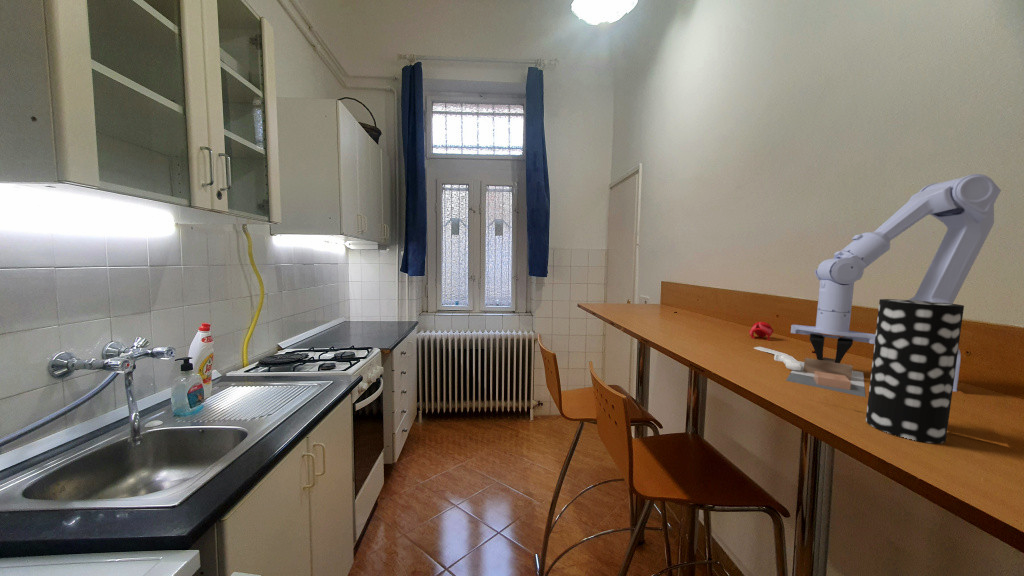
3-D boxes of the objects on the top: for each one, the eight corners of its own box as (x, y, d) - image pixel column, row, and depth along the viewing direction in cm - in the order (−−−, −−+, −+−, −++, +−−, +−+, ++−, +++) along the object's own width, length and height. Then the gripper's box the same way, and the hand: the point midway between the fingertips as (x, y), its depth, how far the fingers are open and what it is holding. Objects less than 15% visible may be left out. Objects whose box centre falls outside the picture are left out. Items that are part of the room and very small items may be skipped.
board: (862, 374, 82) (863, 372, 82) (865, 399, 67) (865, 396, 67) (797, 362, 91) (797, 360, 91) (785, 382, 75) (786, 380, 75)
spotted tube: (938, 429, 55) (955, 303, 53) (952, 450, 49) (972, 307, 47) (863, 413, 60) (876, 298, 59) (867, 429, 54) (882, 301, 52)
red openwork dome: (775, 332, 114) (778, 321, 117) (754, 324, 116) (758, 314, 120) (764, 348, 119) (767, 337, 122) (745, 340, 122) (748, 329, 125)
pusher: (851, 374, 80) (852, 361, 80) (851, 380, 76) (852, 367, 76) (805, 366, 86) (807, 354, 85) (803, 371, 81) (804, 359, 81)
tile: (844, 382, 74) (845, 375, 74) (850, 389, 70) (850, 382, 70) (813, 377, 77) (814, 370, 77) (817, 384, 73) (818, 376, 73)
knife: (746, 341, 110) (777, 343, 107) (746, 346, 110) (777, 349, 107) (762, 360, 84) (803, 364, 80) (762, 367, 84) (803, 371, 80)
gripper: (878, 313, 78) (871, 372, 79) (795, 305, 88) (790, 358, 89) (880, 316, 73) (873, 379, 74) (791, 308, 83) (786, 364, 84)
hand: (827, 368), depth 81 cm, fingers closed on pusher, 2 cm apart
